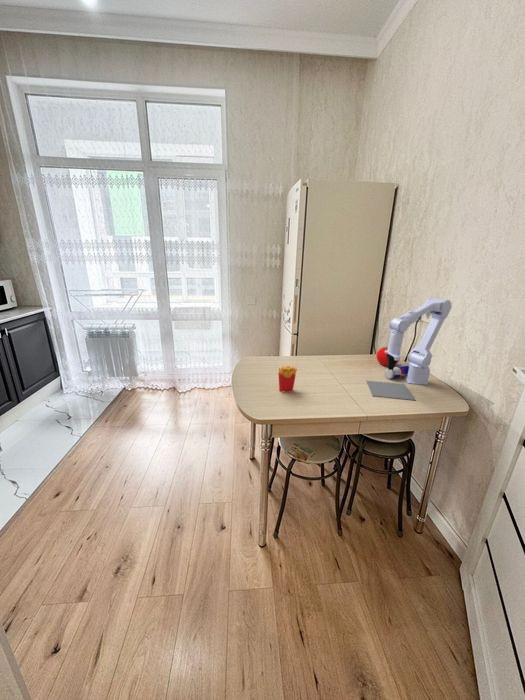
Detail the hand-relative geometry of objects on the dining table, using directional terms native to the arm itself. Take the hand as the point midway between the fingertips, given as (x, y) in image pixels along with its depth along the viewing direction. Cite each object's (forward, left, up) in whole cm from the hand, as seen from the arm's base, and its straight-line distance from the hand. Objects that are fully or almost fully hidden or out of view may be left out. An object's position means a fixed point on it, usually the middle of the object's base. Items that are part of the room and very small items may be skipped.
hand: (390, 369), depth 141 cm
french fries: (+50, +16, -10) cm, 53 cm away
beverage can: (-2, -10, -7) cm, 12 cm away
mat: (0, +4, -9) cm, 10 cm away
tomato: (-7, -32, -10) cm, 34 cm away
